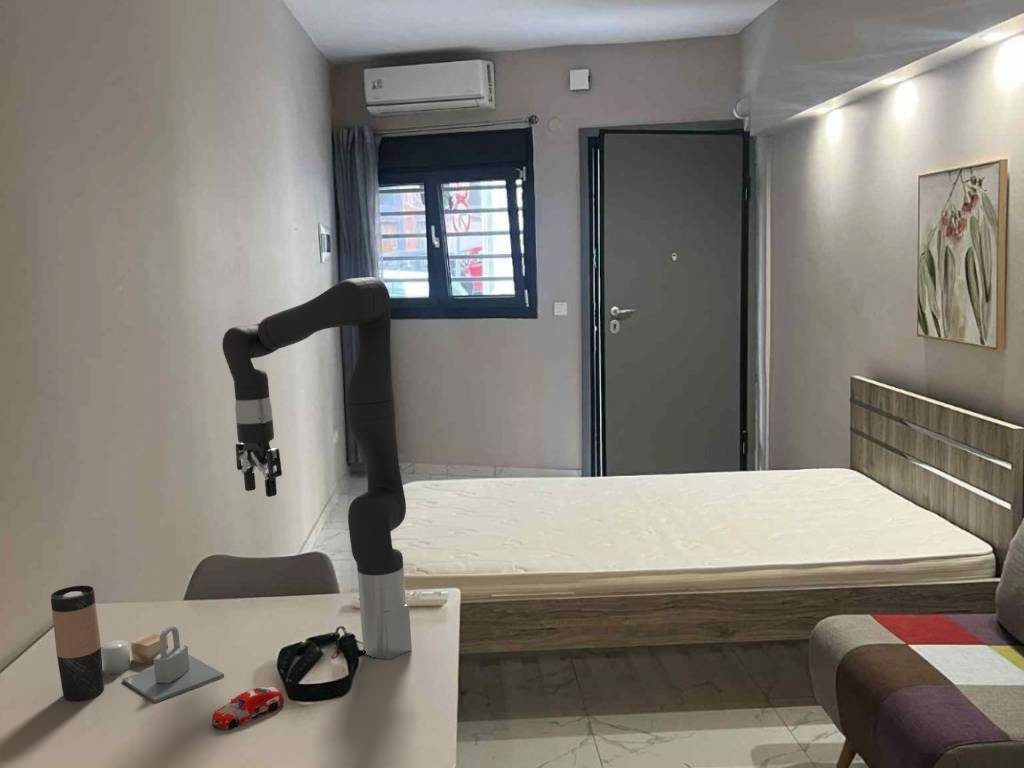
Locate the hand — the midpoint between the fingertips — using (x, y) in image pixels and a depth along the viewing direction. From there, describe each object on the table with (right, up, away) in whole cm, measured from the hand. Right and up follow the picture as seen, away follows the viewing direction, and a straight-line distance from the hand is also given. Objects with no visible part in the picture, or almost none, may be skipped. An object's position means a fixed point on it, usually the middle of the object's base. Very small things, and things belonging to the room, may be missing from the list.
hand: (260, 493), depth 209 cm
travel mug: (-27, -35, -24) cm, 51 cm away
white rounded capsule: (-25, -34, -14) cm, 44 cm away
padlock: (-12, -33, -20) cm, 41 cm away
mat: (-12, -34, -20) cm, 41 cm away
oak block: (-20, -33, -9) cm, 40 cm away
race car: (+7, -36, -37) cm, 52 cm away
